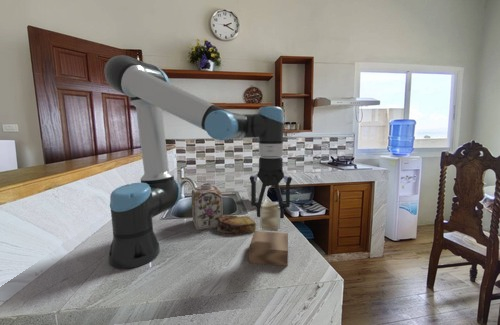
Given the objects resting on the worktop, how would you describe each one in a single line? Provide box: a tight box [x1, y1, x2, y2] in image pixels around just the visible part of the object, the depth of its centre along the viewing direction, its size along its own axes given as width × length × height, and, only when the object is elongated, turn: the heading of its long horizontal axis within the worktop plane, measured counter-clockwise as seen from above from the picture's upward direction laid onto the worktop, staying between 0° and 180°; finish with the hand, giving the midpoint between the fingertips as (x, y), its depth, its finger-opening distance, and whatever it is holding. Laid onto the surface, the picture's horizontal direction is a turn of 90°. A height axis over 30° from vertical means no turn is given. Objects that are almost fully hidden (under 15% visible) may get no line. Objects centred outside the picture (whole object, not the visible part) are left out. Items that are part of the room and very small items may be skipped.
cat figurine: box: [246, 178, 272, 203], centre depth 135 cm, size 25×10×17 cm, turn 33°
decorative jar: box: [191, 182, 224, 231], centre depth 102 cm, size 12×12×18 cm
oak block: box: [261, 201, 280, 232], centre depth 76 cm, size 5×5×8 cm
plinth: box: [248, 230, 289, 267], centre depth 77 cm, size 12×12×5 cm
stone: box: [216, 215, 257, 235], centre depth 97 cm, size 15×9×5 cm, turn 101°
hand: (270, 226), depth 76 cm, fingers closed on oak block, 5 cm apart
